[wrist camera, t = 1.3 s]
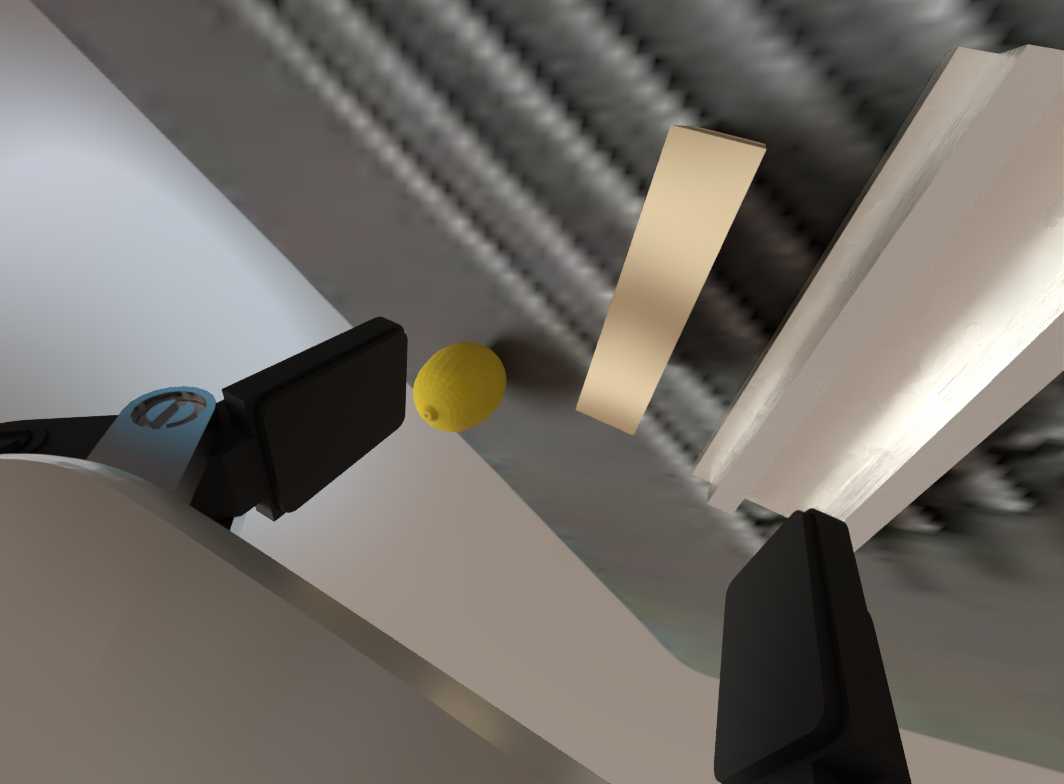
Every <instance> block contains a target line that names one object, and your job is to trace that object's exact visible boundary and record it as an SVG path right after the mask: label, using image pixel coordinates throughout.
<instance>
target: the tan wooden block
mask: <svg viewBox="0 0 1064 784" xmlns="http://www.w3.org/2000/svg"><path fill="white" fill-rule="evenodd" d="M765 152H766V146H765V144H764V143H760V142H756V141H752V140H748V139H744V138H740V137H736V136H732V135H728V134H724V133H720V132H716V131H713V130H709V129H705V128H701V127H691V126H679V125H671V126H670V129H669V132H668V135H667V138H666V141H665V144H664V147H663V150H662V153H661V156H660V159H659V162H658V165H657V168H656V171H655V174H654V177H653V180H652V183H651V186H650V189H649V192H648V195H647V198H646V201H645V204H644V207H643V210H642V213H641V216H640V219H639V222H638V225H637V228H636V231H635V234H634V237H633V240H632V243H631V246H630V249H629V252H628V255H627V258H626V261H625V264H624V267H623V270H622V273H621V276H620V279H619V282H618V285H617V287H616V290H615V293H614V296H613V299H612V302H611V305H610V308H609V311H608V314H607V317H606V320H605V323H604V326H603V329H602V332H601V335H600V338H599V341H598V344H597V347H596V350H595V353H594V356H593V359H592V362H591V365H590V368H589V371H588V374H587V377H586V380H585V383H584V386H583V389H582V392H581V395H580V398H579V401H578V404H577V407H576V410H578V411H580V412H582V413H584V414H586V415H589V416H591V417H593V418H595V419H598V420H600V421H602V422H604V423H607V424H609V425H611V426H613V427H616V428H618V429H620V430H622V431H624V432H627V433H629V434H631V435H633V436H634V433H635V431H636V429H637V427H638V425H639V423H640V421H641V418H642V416H643V414H644V412H645V410H646V408H647V405H648V403H649V401H650V399H651V397H652V395H653V393H654V390H655V388H656V386H657V384H658V382H659V380H660V378H661V375H662V373H663V371H664V369H665V367H666V365H667V362H668V360H669V358H670V356H671V354H672V352H673V350H674V347H675V345H676V343H677V341H678V339H679V337H680V334H681V332H682V330H683V328H684V326H685V324H686V322H687V319H688V317H689V315H690V313H691V311H692V309H693V306H694V304H695V302H696V300H697V298H698V296H699V294H700V291H701V289H702V287H703V285H704V283H705V281H706V278H707V276H708V274H709V272H710V270H711V268H712V266H713V263H714V261H715V259H716V257H717V255H718V253H719V251H720V248H721V246H722V244H723V242H724V240H725V238H726V235H727V233H728V231H729V229H730V227H731V225H732V223H733V220H734V218H735V216H736V214H737V212H738V210H739V207H740V205H741V203H742V201H743V199H744V197H745V195H746V192H747V190H748V188H749V186H750V184H751V182H752V179H753V177H754V175H755V173H756V171H757V169H758V167H759V164H760V162H761V160H762V158H763V156H764V154H765Z"/></svg>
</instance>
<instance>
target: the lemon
mask: <svg viewBox="0 0 1064 784" xmlns="http://www.w3.org/2000/svg"><path fill="white" fill-rule="evenodd" d="M506 381H507V380H506V372H505V369H504V366H503V364H502V362H501V360H500V359H499V357H498V356H497V355H496V354H495V353H494V352H493V351H492V350H490V349H489V348H487V347H486V346H483V345H481V344H478V343H472V342H461V343H455V344H452V345H449V346H447V347H445V348H444V349H442V350H440V351H438V352H437V353H435V354H434V355H433V356H432V357H431V358H430V359H429V360H428V361H427V362H426V364H425V365H424V366H423V367H422V368H421V370H420V371H419V373H418V375H417V378H416V380H415V383H414V388H413V397H414V403H415V406H416V408H417V411H418V412H419V414H420V416H421V417H422V418H423V419H424V420H425V421H426V422H427V423H428V424H429V425H431V426H433V427H434V428H437V429H439V430H442V431H447V432H459V431H464V430H467V429H470V428H472V427H474V426H476V425H477V424H479V423H481V422H483V421H484V420H485V419H487V418H488V417H489V416H490V415H491V414H492V413H493V412H494V411H495V409H496V408H497V407H498V406H499V404H500V402H501V400H502V398H503V396H504V393H505V390H506Z"/></svg>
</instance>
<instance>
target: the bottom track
mask: <svg viewBox="0 0 1064 784" xmlns="http://www.w3.org/2000/svg"><path fill="white" fill-rule="evenodd" d="M1062 371H1064V51H1063V50H1057V49H1052V48H1046V47H1040V46H1034V45H1029V44H1028V45H1025V46H1022V47H1019V48H1015V49H1012V50H1009V51H1006V52H1003V53H1000V54H997V53H991V52H986V51H980V50H975V49H969V48H964V47H957V48H955V49H952V50H950V51H948V52H946V54H945V56H944V57H943V59H942V61H941V62H940V64H939V65H938V67H937V69H936V70H935V72H934V74H933V75H932V77H931V78H930V80H929V82H928V83H927V85H926V87H925V88H924V90H923V92H922V93H921V95H920V96H919V98H918V100H917V101H916V103H915V105H914V106H913V108H912V109H911V111H910V113H909V114H908V116H907V118H906V119H905V121H904V122H903V124H902V126H901V127H900V129H899V131H898V132H897V134H896V135H895V137H894V139H893V140H892V142H891V144H890V145H889V147H888V148H887V150H886V152H885V153H884V155H883V157H882V158H881V160H880V161H879V163H878V165H877V166H876V168H875V170H874V171H873V173H872V174H871V176H870V178H869V179H868V181H867V183H866V184H865V186H864V187H863V189H862V191H861V192H860V194H859V196H858V197H857V199H856V200H855V202H854V204H853V205H852V207H851V209H850V210H849V212H848V213H847V215H846V217H845V218H844V220H843V222H842V223H841V225H840V226H839V228H838V230H837V231H836V233H835V235H834V236H833V238H832V239H831V241H830V243H829V244H828V246H827V248H826V249H825V251H824V253H823V254H822V256H821V257H820V259H819V261H818V262H817V264H816V266H815V267H814V269H813V270H812V272H811V274H810V275H809V277H808V279H807V280H806V282H805V283H804V285H803V287H802V288H801V290H800V292H799V293H798V295H797V296H796V298H795V300H794V301H793V303H792V305H791V306H790V308H789V309H788V311H787V313H786V314H785V316H784V318H783V319H782V321H781V322H780V324H779V326H778V327H777V329H776V331H775V332H774V334H773V335H772V337H771V339H770V340H769V342H768V344H767V345H766V347H765V348H764V350H763V352H762V353H761V355H760V357H759V358H758V360H757V361H756V363H755V365H754V366H753V368H752V370H751V371H750V373H749V374H748V376H747V378H746V379H745V381H744V383H743V384H742V386H741V387H740V389H739V391H738V392H737V394H736V396H735V397H734V399H733V401H732V402H731V404H730V405H729V407H728V409H727V410H726V412H725V414H724V415H723V417H722V418H721V420H720V422H719V423H718V425H717V427H716V428H715V430H714V431H713V433H712V435H711V436H710V438H709V440H708V441H707V443H706V444H705V446H704V448H703V449H702V451H701V453H700V454H699V456H698V457H697V459H696V461H695V462H694V466H693V471H692V474H693V475H695V476H697V477H699V478H701V479H704V480H706V481H708V482H710V486H709V493H708V500H707V504H709V505H711V506H713V507H716V508H718V509H720V510H722V511H724V512H726V513H728V514H731V515H732V514H733V512H734V511H735V510H736V509H737V507H738V506H739V505H740V503H741V502H742V501H743V500H744V498H746V499H748V500H750V501H752V502H754V503H757V504H759V505H761V506H763V507H765V508H768V509H770V510H772V511H774V512H776V513H779V514H781V515H783V516H785V517H787V518H789V516H790V515H791V514H792V513H793V512H794V511H796V510H801V511H803V512H805V511H806V510H808V509H810V508H814V509H817V510H819V511H821V512H823V513H826V514H828V515H830V516H832V517H835V518H837V519H839V520H842V521H844V522H845V523H846V524H847V526H848V529H849V534H850V538H851V542H852V546H853V551H854V552H855V551H856V550H857V549H858V548H859V547H861V546H862V545H863V544H864V543H865V542H866V541H868V540H869V539H870V538H871V537H872V536H873V535H874V534H876V533H877V532H878V531H879V530H880V529H881V528H883V527H884V526H885V525H886V524H887V523H888V522H889V521H891V520H892V519H893V518H894V517H895V516H896V515H898V514H899V513H900V512H901V511H902V510H903V509H904V508H906V507H907V506H908V505H909V504H910V503H911V502H913V501H914V500H915V499H916V498H917V497H918V496H919V495H921V494H922V493H923V492H924V491H925V490H926V489H928V488H929V487H930V486H931V485H932V484H933V483H934V482H936V481H937V480H938V479H939V478H940V477H941V476H943V475H944V474H945V473H946V472H947V471H948V470H949V469H951V468H952V467H953V466H954V465H955V464H956V463H958V462H959V461H960V460H961V459H962V458H963V457H964V456H966V455H967V454H968V453H969V452H970V451H971V450H973V449H974V448H975V447H976V446H977V445H978V444H979V443H981V442H982V441H983V440H984V439H985V438H986V437H988V436H989V435H990V434H991V433H992V432H993V431H994V430H996V429H997V428H998V427H999V426H1000V425H1001V424H1003V423H1004V422H1005V421H1006V420H1007V419H1008V418H1009V417H1011V416H1012V415H1013V414H1014V413H1015V412H1016V411H1018V410H1019V409H1020V408H1021V407H1022V406H1023V405H1024V404H1026V403H1027V402H1028V401H1029V400H1030V399H1031V398H1032V397H1034V396H1035V395H1036V394H1037V393H1038V392H1039V391H1041V390H1042V389H1043V388H1044V387H1045V386H1046V385H1047V384H1049V383H1050V382H1051V381H1052V380H1053V379H1054V378H1056V377H1057V376H1058V375H1059V374H1060V373H1061V372H1062Z"/></svg>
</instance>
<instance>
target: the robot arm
mask: <svg viewBox="0 0 1064 784" xmlns="http://www.w3.org/2000/svg"><path fill="white" fill-rule="evenodd" d="M407 342H408V339H407V335H406V334H405V333H404V329H403V327H402V326H401V325H399V324H397V323H395V322H393V321H390V320H388V319H386V318H384V317H376V318H374V319H372V320H369V321H367V322H365V323H363V324H361V325H359V326H357V327H354V328H352V329H350V330H348V331H346V332H344V333H341V334H340V335H337V336H335V337H333V338H331V339H329V340H326V341H324V342H322V343H320V344H318V345H316V346H314V347H311V348H309V349H307V350H305V351H303V352H301V353H299V354H296V355H294V356H292V357H290V358H288V359H286V360H283V361H281V362H279V363H277V364H275V365H273V366H271V367H268V368H266V369H264V370H262V371H260V372H258V373H256V374H253V375H251V376H249V377H247V378H245V379H243V380H240V381H238V382H236V383H234V384H232V385H230V386H228V387H225V388H223V389H222V392H223V395H224V400H222V401H220V402H218V403H216V401H215V398H214V396H213V395H212V394H210V393H209V392H208V391H206V390H203V389H199V388H195V387H185V386H183V387H170V388H165V389H160V390H155V391H153V392H150V393H147V394H145V395H142V396H140V397H138V398H137V399H135V400H133V401H131V402H130V403H129V404H128V405H127V406H126V407H125V408H124V409H123V410H122V411H121V413H120V414H119V415H109V416H90V417H74V418H73V417H72V418H55V419H54V418H53V419H35V420H20V421H12V422H5V423H0V784H610V783H608V782H607V781H605V780H604V779H602V778H601V777H600V776H598V775H597V774H595V773H594V772H592V771H591V770H589V769H587V768H586V767H585V766H583V765H582V764H580V763H579V762H577V761H576V760H574V759H573V758H571V757H570V756H568V755H567V754H565V753H564V752H562V751H561V750H559V749H558V748H556V747H555V746H553V745H552V744H550V743H549V742H547V741H546V740H544V739H543V738H541V737H540V736H538V735H537V734H535V733H534V732H532V731H531V730H530V729H528V728H527V727H525V726H523V725H522V724H521V723H519V722H517V721H516V720H515V719H513V718H511V717H510V716H509V715H507V714H506V713H504V712H503V711H501V710H500V709H498V708H497V707H495V706H494V705H492V704H491V703H489V702H488V701H486V700H485V699H483V698H482V697H480V696H479V695H477V694H476V693H474V692H473V691H471V690H470V689H468V688H467V687H465V686H464V685H462V684H461V683H459V682H458V681H456V680H455V679H453V678H452V677H450V676H449V675H447V674H446V673H444V672H443V671H441V670H440V669H438V668H437V667H435V666H434V665H432V664H431V663H429V662H428V661H426V660H425V659H423V658H422V657H420V656H419V655H417V654H416V653H414V652H413V651H411V650H410V649H408V648H407V647H405V646H404V645H402V644H401V643H399V642H398V641H396V640H395V639H393V638H392V637H390V636H389V635H387V634H386V633H384V632H383V631H381V630H379V629H378V628H377V627H375V626H374V625H372V624H370V623H369V622H368V621H366V620H365V619H363V618H361V617H360V616H358V615H357V614H356V613H354V612H353V611H351V610H350V609H348V608H347V607H345V606H343V605H342V604H340V603H339V602H337V601H336V600H334V599H333V598H331V597H330V596H328V595H327V594H325V593H324V592H322V591H321V590H319V589H318V588H316V587H315V586H313V585H312V584H310V583H309V582H307V581H306V580H304V579H303V578H301V577H299V576H298V575H296V574H295V573H293V572H292V571H290V570H289V569H287V568H286V567H284V566H283V565H281V564H280V563H278V562H277V561H275V560H274V559H272V558H271V557H269V556H268V555H266V554H264V553H263V552H261V551H260V550H258V549H257V548H255V547H254V546H252V545H251V544H249V543H248V542H246V541H245V540H243V539H242V538H240V537H239V534H240V531H241V528H242V525H243V521H244V518H245V515H246V512H248V511H249V510H250V509H252V508H253V507H256V510H257V511H258V512H260V513H261V514H263V515H264V516H266V517H268V518H269V519H271V520H272V521H276V520H277V519H278V518H280V517H281V516H282V515H284V514H285V513H286V512H287V513H289V512H293V511H295V510H297V509H298V508H300V507H301V506H302V505H303V504H304V503H306V502H307V501H308V500H309V499H311V498H312V497H313V496H314V495H315V494H317V493H318V492H319V491H321V490H322V489H323V488H324V487H326V486H327V485H328V484H329V483H331V482H332V481H333V480H334V479H335V478H337V477H338V476H339V475H341V474H342V473H343V472H344V471H346V470H347V469H348V468H349V467H350V466H352V465H353V464H354V463H356V462H357V461H358V460H359V459H361V458H362V457H363V456H364V455H366V454H367V453H368V452H369V451H371V450H372V449H373V448H374V447H375V446H377V445H378V444H379V443H380V442H382V441H383V440H384V439H385V438H387V437H388V436H389V435H391V434H392V433H393V432H394V431H395V430H397V429H398V428H399V427H400V426H401V424H402V423H403V421H404V418H405V403H406V373H407ZM714 774H715V778H716V780H717V781H719V782H720V783H722V784H912V783H911V779H910V775H909V771H908V767H907V762H906V759H905V754H904V750H903V746H902V741H901V737H900V733H899V729H898V725H897V720H896V716H895V712H894V708H893V704H892V699H891V695H890V691H889V687H888V683H887V678H886V674H885V670H884V666H883V662H882V658H881V653H880V649H879V645H878V641H877V637H876V632H875V628H874V624H873V621H872V618H871V616H870V613H869V612H868V611H867V607H866V602H865V598H864V594H863V589H862V585H861V581H860V577H859V572H858V568H857V564H856V559H855V555H854V551H853V546H852V542H851V538H850V534H849V529H848V526H847V524H846V523H845V522H844V521H842V520H839V519H837V518H835V517H832V516H830V515H828V514H826V513H823V512H821V511H819V510H817V509H814V508H810V509H808V510H806V511H805V512H803V511H801V510H796V511H794V512H793V513H792V514H791V515H790V516H789V518H788V519H787V520H786V521H785V522H784V523H783V524H782V525H781V527H780V528H779V529H778V530H777V531H776V532H775V533H774V534H773V535H772V537H771V538H770V539H769V540H768V541H767V542H766V543H765V544H764V545H763V547H762V548H761V549H760V550H759V551H758V552H757V553H756V554H755V556H754V557H753V558H752V559H751V560H750V561H749V562H748V563H747V564H746V566H745V567H744V568H743V569H742V570H741V571H740V572H739V573H738V575H737V576H736V577H735V578H734V579H733V580H732V582H731V583H730V585H729V587H728V590H727V593H726V600H725V614H724V629H723V643H722V657H721V671H720V686H719V700H718V714H717V729H716V742H715V756H714Z"/></svg>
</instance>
